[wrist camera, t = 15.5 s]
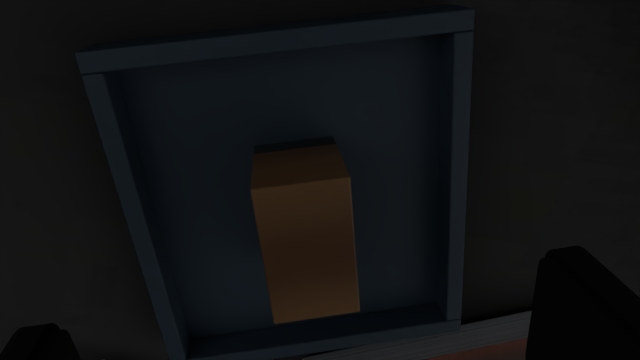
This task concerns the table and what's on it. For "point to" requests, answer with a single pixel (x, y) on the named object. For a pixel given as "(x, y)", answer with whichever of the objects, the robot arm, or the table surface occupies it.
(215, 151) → the tray
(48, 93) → the table surface
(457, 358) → the picture frame
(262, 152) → the brown wooden block
